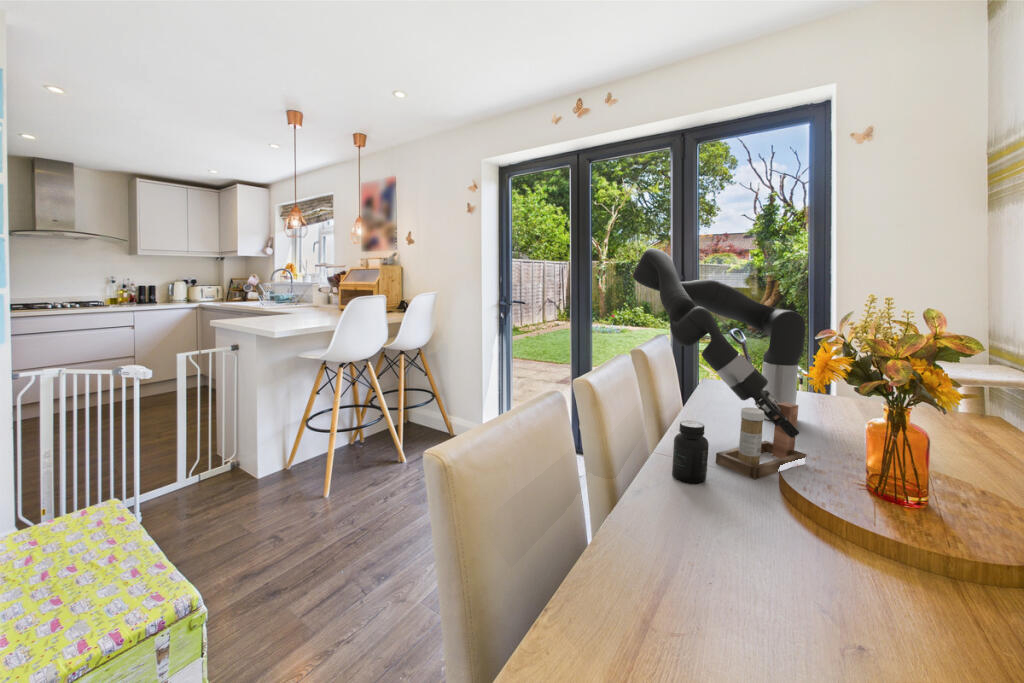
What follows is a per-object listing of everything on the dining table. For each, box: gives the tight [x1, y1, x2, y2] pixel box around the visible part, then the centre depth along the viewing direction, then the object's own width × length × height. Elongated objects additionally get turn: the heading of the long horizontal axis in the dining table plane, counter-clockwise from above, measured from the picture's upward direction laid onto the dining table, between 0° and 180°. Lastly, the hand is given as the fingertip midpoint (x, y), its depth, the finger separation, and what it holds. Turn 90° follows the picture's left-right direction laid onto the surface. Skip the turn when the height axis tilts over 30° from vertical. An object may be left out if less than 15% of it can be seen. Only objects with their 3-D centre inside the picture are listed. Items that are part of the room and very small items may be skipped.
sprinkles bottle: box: [738, 406, 765, 466], centre depth 100 cm, size 5×5×13 cm
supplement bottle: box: [671, 420, 710, 486], centre depth 95 cm, size 7×7×12 cm
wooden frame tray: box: [715, 402, 807, 480], centre depth 103 cm, size 19×10×13 cm, turn 117°
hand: (794, 431), depth 105 cm, fingers closed on wooden frame tray, 4 cm apart
